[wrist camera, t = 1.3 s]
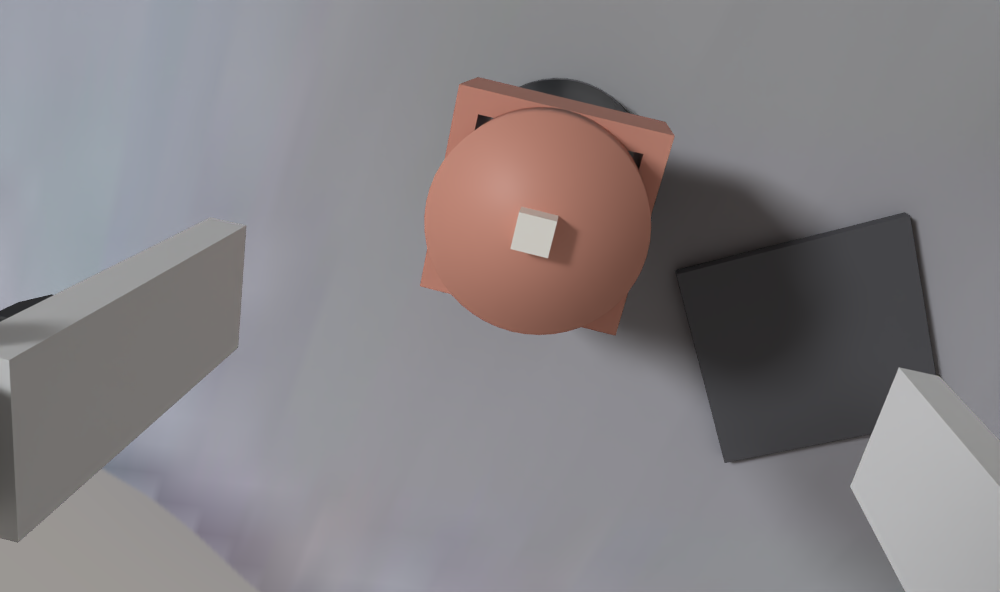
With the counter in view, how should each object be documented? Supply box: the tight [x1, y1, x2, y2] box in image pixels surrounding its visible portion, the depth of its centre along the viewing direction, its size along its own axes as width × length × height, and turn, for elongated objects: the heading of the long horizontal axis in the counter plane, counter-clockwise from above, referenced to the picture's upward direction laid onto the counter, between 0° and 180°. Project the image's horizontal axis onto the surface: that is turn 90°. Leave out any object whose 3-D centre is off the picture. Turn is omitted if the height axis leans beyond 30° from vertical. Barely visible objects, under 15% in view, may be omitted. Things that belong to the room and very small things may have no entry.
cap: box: [420, 77, 674, 335], centre depth 27 cm, size 7×7×7 cm
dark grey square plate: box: [676, 213, 936, 463], centre depth 36 cm, size 10×10×1 cm
